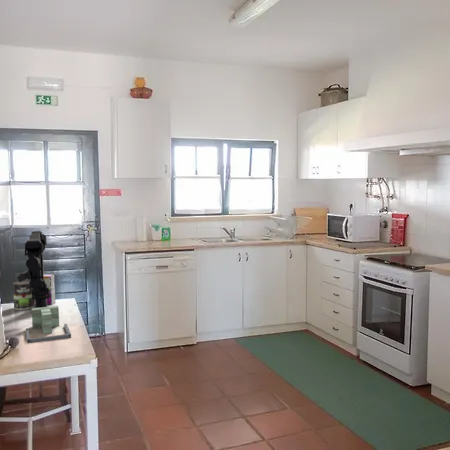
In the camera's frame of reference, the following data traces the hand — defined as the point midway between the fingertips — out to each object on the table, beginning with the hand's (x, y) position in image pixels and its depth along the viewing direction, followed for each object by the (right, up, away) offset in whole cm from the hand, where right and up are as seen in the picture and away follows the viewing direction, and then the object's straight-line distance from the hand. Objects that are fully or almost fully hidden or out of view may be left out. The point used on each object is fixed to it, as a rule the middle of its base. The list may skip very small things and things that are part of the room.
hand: (36, 296), depth 249 cm
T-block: (+9, -14, -10) cm, 19 cm away
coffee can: (-18, -10, +29) cm, 35 cm away
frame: (+12, -15, -17) cm, 26 cm away
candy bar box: (-9, -9, +37) cm, 39 cm away
